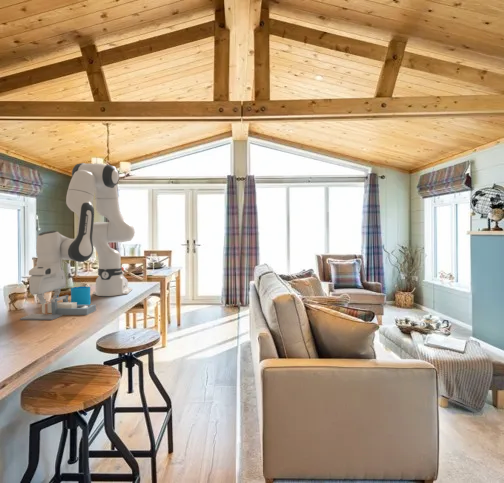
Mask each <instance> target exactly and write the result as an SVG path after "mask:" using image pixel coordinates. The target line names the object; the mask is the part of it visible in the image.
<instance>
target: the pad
mask: <svg viewBox="0 0 504 483" xmlns="http://www.w3.org/2000/svg"><path fill="white" fill-rule="evenodd" d="M62 316H63V315H62V314H45V313H30V314H27V315H26V316H23V317H20V318H19V320H20V321H53V319H54V320H56V319H59V318H60V317H62Z"/></svg>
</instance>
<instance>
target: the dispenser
mask: <svg viewBox="0 0 504 483" xmlns="http://www.w3.org/2000/svg"><path fill="white" fill-rule="evenodd" d="M69 297H70V296H69V294H65V295H62V296H59V297H58V298H55V299H53V298H52V299H50V302H51V307H52V314H62V316H67V315H69V316H76V315H77V316H88V315H90V314H92V313H93V312H96V311H97V304H91V305H77V308H57V302H61V301H62V302H69Z"/></svg>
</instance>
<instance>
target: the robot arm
mask: <svg viewBox="0 0 504 483" xmlns="http://www.w3.org/2000/svg"><path fill="white" fill-rule="evenodd" d="M119 182H120V172H119V170H118V169H117V167H116V166H113V165H111V164H103V163H97V162H96V163H95V162H94V163H84V162H81V163H76V164H75V165H74V167H73V168H72V170H71V179H70V182H69V184H68V187H67V188H68V189H67V192H66V198H65V200H66V201H65V204H66V206H67V207H68V209H69V210H70V211H71V212H73V213H75V214H76V216H77V218H78V220H77V228H76V229H77V230H76V236H75V237H74V238H70V237H67V236H65V235H63V234H61V233H60V232H59V231H57V230H48V231H43V232H40V233H39V234H37V238H36V248H35V249H36V256H37V258H36V265H35V266H33V267H32V268H30V269H29V270H28V275H29V276H30V277H29V282H28V283H29V284H28V285H29V293H30V294H31V295H36V296H37V299H38V300H39V302H38V303H39V304H40V305H42V304H44V303H46V302H47V300H46V299H45V297H44V296H45V293H49V292H54V295H52V299H55V298H58V297H60V293H61V289H63V288H66V286H67V279H66V273H65V271H64V269H63V268H62V267H61V266H62V265H61V262H62V261H61V260H64V261H73V262H78V263H79V262H80V263H83V262H87V261H89V259H90V258H92V255H93V254H94V248H95V251H96V252H97V259H98V260H97V261H98V269H97V275H98V277H96V279H95V291H93V295H96V296H98V297H115V296H122V295H128V294H129V293H131V291H132V290H133V287H129V282H128V281H129V280H128V279H127V278H126V277H125V276H124V274H123V271H125V269H124V268H125V267H122V263H121V262H122V260H121V258H122V256H121V253H120V251H118V250H117V249H114V248H112V247H111V246H110V244H109V243H126V242H129V241H132V239H134V237H135V233H136V232H135V228H134V226H133V225H132V224H131V223H130V222H128V221H127V220H126V219H125V218H124V216H123V215H122V213H121V211H120V204H119V193H118V188H117V185H118V183H119ZM94 198H95V199H94ZM94 200H95V208H94V206H93V205H94ZM95 210H96V213H98V215H100V216H102V217H104V218H106V219H107V221H96V222H95Z"/></svg>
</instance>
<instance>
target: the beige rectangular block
mask: <svg viewBox="0 0 504 483" xmlns="http://www.w3.org/2000/svg"><path fill="white" fill-rule="evenodd" d="M57 308H77V302H71V301H70V302H69V301H68V302H63V301H57ZM47 313H52V307H51V301H46V303H44V304H41V314H47Z"/></svg>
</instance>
